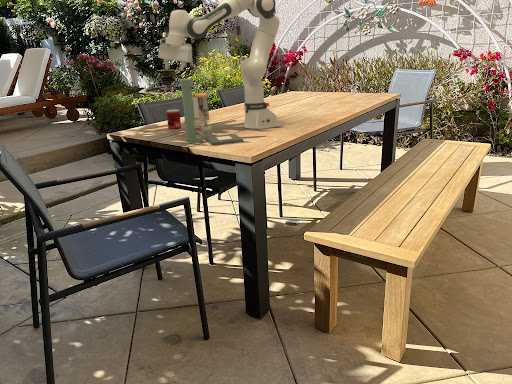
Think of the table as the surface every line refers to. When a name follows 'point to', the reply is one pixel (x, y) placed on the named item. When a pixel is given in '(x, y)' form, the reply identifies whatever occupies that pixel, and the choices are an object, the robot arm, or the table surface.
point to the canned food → (173, 119)
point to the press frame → (188, 111)
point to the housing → (206, 130)
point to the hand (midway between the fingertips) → (174, 69)
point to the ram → (195, 103)
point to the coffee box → (202, 109)
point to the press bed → (224, 139)
